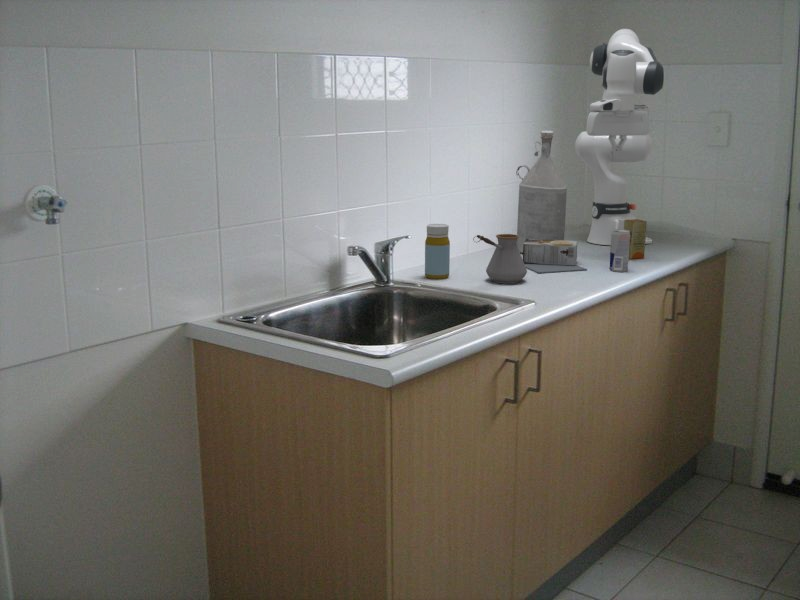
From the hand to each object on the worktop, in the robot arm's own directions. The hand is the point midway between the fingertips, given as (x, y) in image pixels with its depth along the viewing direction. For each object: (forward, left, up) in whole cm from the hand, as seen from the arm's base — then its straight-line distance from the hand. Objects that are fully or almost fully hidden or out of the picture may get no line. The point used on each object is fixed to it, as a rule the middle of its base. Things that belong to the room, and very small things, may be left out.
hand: (616, 150), depth 274 cm
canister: (+17, -17, -34) cm, 42 cm away
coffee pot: (+49, +23, -34) cm, 64 cm away
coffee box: (+15, +5, -30) cm, 34 cm away
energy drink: (+7, +16, -34) cm, 39 cm away
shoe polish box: (-8, 0, -34) cm, 35 cm away
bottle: (+62, +10, -34) cm, 72 cm away
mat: (+24, +6, -34) cm, 42 cm away
